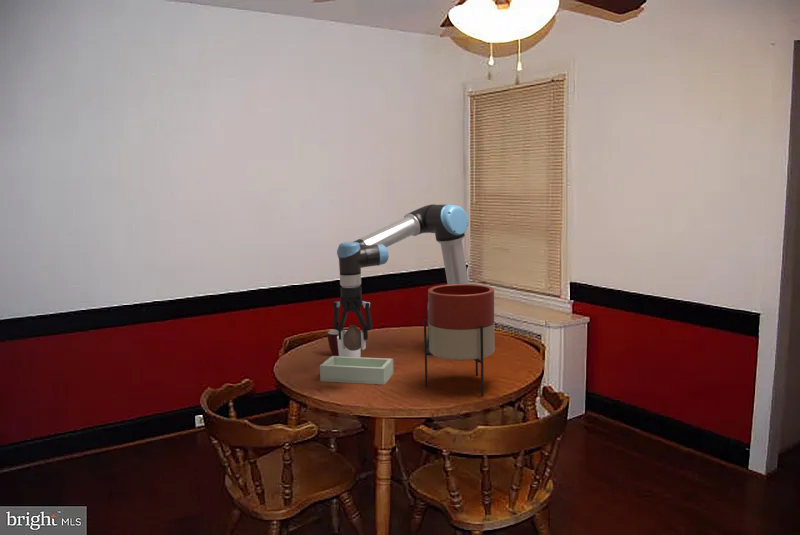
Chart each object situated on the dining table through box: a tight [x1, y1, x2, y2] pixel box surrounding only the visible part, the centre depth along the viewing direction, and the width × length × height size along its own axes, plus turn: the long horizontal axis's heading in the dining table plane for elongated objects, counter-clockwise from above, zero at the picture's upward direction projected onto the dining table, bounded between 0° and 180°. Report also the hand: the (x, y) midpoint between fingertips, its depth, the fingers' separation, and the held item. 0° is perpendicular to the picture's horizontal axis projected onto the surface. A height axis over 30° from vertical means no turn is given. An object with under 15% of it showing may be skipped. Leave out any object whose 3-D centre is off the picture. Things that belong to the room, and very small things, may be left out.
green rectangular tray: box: [319, 355, 394, 385], centre depth 241 cm, size 25×13×6 cm, turn 76°
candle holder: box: [337, 336, 362, 357], centre depth 257 cm, size 10×10×12 cm
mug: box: [327, 329, 347, 356], centre depth 273 cm, size 11×8×10 cm
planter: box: [423, 283, 496, 397], centre depth 226 cm, size 24×25×35 cm
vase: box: [344, 324, 362, 351], centre depth 228 cm, size 7×7×9 cm
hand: (353, 348), depth 228 cm, fingers closed on vase, 7 cm apart
